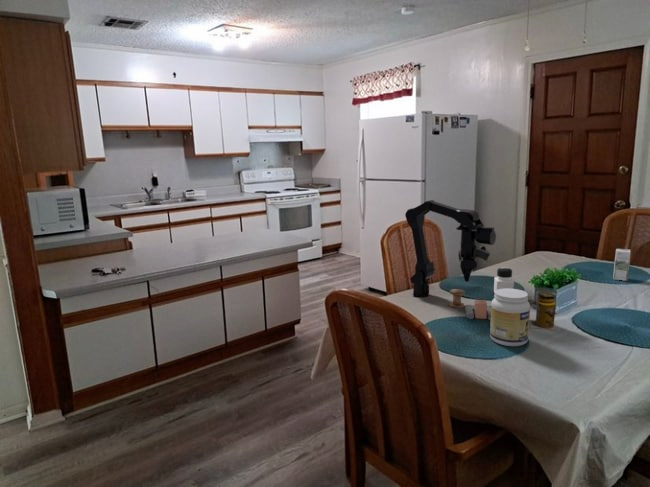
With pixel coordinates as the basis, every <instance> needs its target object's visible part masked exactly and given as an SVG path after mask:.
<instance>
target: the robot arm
mask: <svg viewBox="0 0 650 487" xmlns="http://www.w3.org/2000/svg"><path fill="white" fill-rule="evenodd" d="M430 212H432V213H433V212H434V213H437V214H439V215H442V216H444V217H448V218H451V219H453V220H454V221H456V222H457V223H458V224H459V226H457V227H456V230H457V231H460V233H461V234H460V249H459V250H458V261H459V265H460V270H461V273H462V276H463V279H464V280H465V282H469V280H470V277H471V273H472V271H473V270H475V269H477V267H478V261H477V258H479V259H482V260H484V261H485V262H486V261H488V259H489V257H490V255H491V253H490V251H488V250H487V247H486V246H485V245H490V246H493V245H494V244H495V243H496V240H497V235H496V231H495V227H491V226H490V227H487V226H485V225H484V223H483V221H482V220H481V219H480V215H479V213H478V211H476V210H474V209H465V208H457V207H453V206H450V205H448V204H444V203H440V202H438V201H435V200H432V199H431V200H426V201H424V202H423V203H421V204H419V205H418V206H416V207H411V208H408V209H407V211H405V214H404V216H405V219H406V223H407V224H408V226H409V227H410V229H411V233H412V239H413V245H414V251H415V256H416V263H415V267H414V271H415V272H414V274H412V276H411V277H410V278H409V280H410V283H412V284H413V286H412V287H413V288H412V290H413V291H412V297H418V298H420V297H422V298H425V297H426V298H427V297H429V294H430V283H429V281H430V280H431V278H432V277H433V276H434V274H435V271H436V269H435V266H434V261H432V262H431V261H430V260H429V256H428V252H427V244H426V239H425V233H424V224H425V215H427V214H428V213H430ZM476 242H477V243H478V244H483V245H481V246H480V247H478V246H477V244H476Z"/></svg>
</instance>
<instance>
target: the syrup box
mask: <svg viewBox="0 0 650 487" xmlns="http://www.w3.org/2000/svg"><path fill="white" fill-rule="evenodd" d="M614 256H615V257H614V265H613V266H614V268H613V275H612V276H613V279H612V280H613V281H619V280H622V281H621V282H628V278H629V268H630V262H631V260H630V259H631V249H628V248H625V249H624V248H616V249H615V255H614Z"/></svg>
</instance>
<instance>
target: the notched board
mask: <svg viewBox="0 0 650 487" xmlns="http://www.w3.org/2000/svg"><path fill="white" fill-rule="evenodd" d="M474 307H475V304H474V305H473V304H464V310H465V315H466V319H467V318H469V319H468V320H474V318H475V315H474ZM486 318H487V319H488V320H489V321H491V305H487V313H486Z"/></svg>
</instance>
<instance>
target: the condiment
mask: <svg viewBox="0 0 650 487" xmlns="http://www.w3.org/2000/svg"><path fill="white" fill-rule="evenodd" d="M555 298H556V296H555V294H553V293H552V292H540V293H539V294H538V299H537V301H536V311H535V312H536V313H535V320H533V319H529V327H530V329H531V328H532V329H542V330H554V331H556V330H557V327H556V325H555V315H556V301H555Z"/></svg>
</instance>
